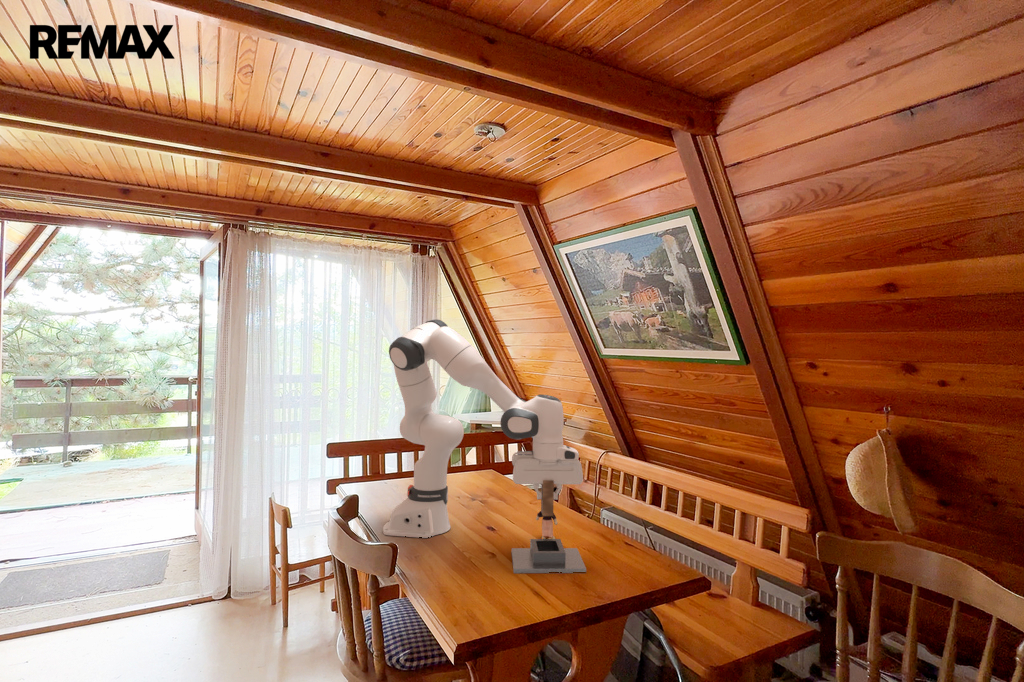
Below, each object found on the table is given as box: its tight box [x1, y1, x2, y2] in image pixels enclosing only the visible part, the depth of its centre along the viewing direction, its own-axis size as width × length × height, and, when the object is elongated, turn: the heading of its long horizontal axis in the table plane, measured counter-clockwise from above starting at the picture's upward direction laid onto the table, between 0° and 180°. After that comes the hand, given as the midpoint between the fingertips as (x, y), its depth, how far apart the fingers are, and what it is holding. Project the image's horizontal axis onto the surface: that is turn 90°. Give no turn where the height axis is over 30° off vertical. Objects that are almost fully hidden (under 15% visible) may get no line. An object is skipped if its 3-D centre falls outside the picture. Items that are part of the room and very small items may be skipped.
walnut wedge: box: [540, 480, 555, 516], centre depth 155 cm, size 3×5×10 cm, turn 2°
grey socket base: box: [511, 538, 587, 574], centre depth 155 cm, size 20×15×5 cm
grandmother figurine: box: [535, 510, 558, 539], centre depth 174 cm, size 8×4×13 cm, turn 71°
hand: (547, 499), depth 155 cm, fingers closed on walnut wedge, 3 cm apart
